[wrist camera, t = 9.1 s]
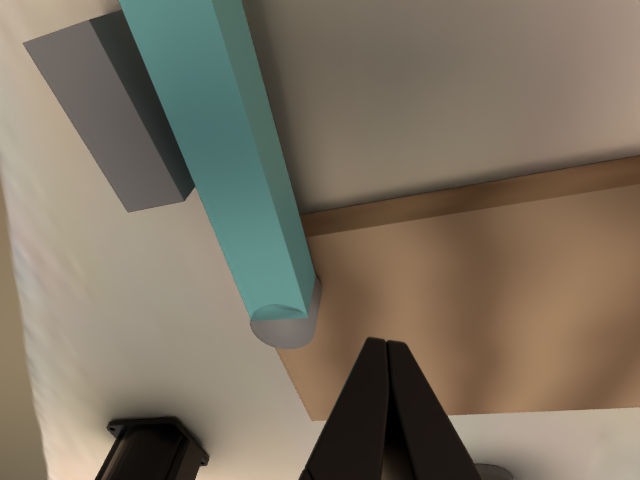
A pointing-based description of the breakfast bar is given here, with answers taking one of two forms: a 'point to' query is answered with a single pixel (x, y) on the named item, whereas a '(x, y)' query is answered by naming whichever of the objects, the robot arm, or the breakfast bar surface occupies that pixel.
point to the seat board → (486, 292)
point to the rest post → (115, 109)
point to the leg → (232, 155)
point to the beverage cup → (493, 472)
